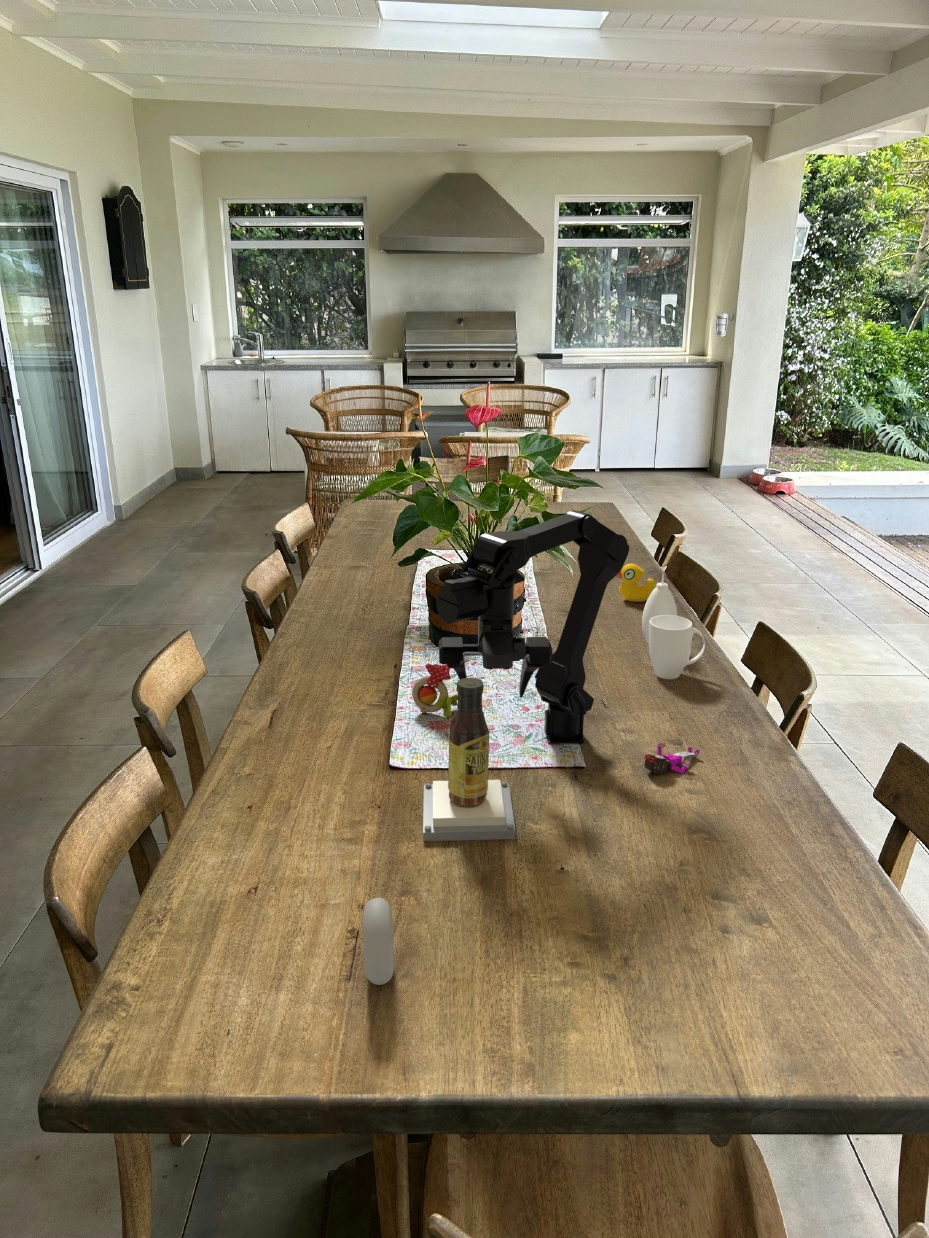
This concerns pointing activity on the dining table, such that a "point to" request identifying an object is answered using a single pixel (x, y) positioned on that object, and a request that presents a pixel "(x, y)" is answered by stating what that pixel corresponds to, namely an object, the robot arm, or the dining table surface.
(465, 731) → the sauce bottle
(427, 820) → the tower base
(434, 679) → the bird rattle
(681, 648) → the mug
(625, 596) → the duckling
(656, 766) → the character figurine
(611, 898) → the dining table surface
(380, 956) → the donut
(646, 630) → the sauce bottle
